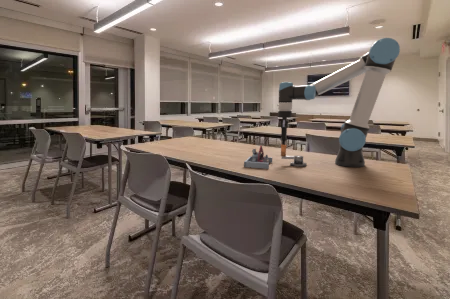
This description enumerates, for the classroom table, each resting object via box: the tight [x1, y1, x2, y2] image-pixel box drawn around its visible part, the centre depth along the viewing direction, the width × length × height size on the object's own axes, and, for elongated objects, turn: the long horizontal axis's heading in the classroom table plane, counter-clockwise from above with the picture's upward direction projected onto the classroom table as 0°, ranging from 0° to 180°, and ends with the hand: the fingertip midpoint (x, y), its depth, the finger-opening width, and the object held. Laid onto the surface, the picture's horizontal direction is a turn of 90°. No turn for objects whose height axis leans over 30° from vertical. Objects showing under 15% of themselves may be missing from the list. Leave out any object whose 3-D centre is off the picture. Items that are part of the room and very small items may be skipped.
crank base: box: [289, 161, 307, 168], centre depth 144 cm, size 9×9×1 cm
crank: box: [280, 143, 304, 164], centre depth 144 cm, size 13×5×10 cm, turn 78°
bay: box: [243, 155, 273, 170], centre depth 145 cm, size 14×16×3 cm
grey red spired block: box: [251, 144, 269, 163], centre depth 146 cm, size 11×11×12 cm
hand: (283, 151), depth 147 cm, fingers closed
